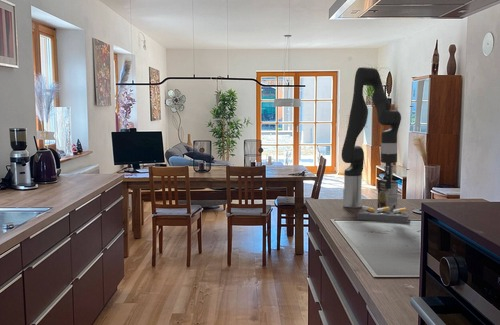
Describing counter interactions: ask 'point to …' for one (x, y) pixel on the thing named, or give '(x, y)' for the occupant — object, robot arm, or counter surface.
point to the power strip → (383, 216)
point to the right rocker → (399, 210)
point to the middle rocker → (383, 209)
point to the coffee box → (387, 195)
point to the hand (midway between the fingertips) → (388, 188)
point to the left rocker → (368, 208)
